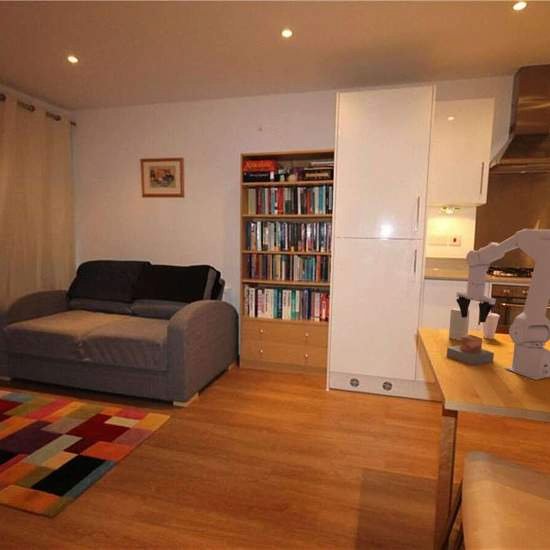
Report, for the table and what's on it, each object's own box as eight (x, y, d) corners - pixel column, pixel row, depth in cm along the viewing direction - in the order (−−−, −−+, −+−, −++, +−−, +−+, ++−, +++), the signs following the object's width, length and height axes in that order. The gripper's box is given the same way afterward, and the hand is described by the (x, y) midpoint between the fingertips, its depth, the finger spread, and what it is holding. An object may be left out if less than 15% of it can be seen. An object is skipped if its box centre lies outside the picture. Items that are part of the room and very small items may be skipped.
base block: (493, 361, 124) (493, 352, 124) (472, 365, 120) (473, 356, 120) (466, 352, 133) (467, 344, 133) (446, 355, 129) (447, 347, 129)
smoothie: (492, 335, 155) (496, 302, 153) (500, 340, 149) (504, 305, 147) (476, 334, 156) (479, 302, 154) (483, 339, 149) (487, 305, 148)
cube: (481, 351, 125) (482, 338, 125) (471, 352, 123) (472, 339, 123) (469, 347, 129) (470, 334, 129) (460, 348, 127) (461, 335, 127)
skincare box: (467, 339, 149) (470, 310, 147) (464, 341, 146) (467, 311, 144) (451, 336, 153) (453, 307, 151) (448, 338, 150) (450, 309, 148)
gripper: (502, 286, 132) (498, 323, 133) (466, 280, 145) (463, 314, 146) (489, 287, 129) (485, 325, 130) (453, 281, 142) (450, 315, 144)
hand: (473, 319), depth 138 cm, fingers open, 7 cm apart
